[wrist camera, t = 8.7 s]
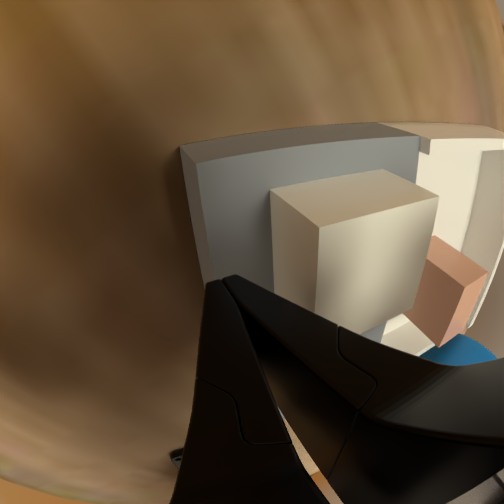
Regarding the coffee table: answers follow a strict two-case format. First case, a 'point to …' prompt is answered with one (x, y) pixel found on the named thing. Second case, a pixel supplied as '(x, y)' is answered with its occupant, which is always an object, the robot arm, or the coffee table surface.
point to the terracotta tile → (445, 292)
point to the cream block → (352, 245)
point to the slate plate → (273, 176)
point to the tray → (458, 205)
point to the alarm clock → (459, 352)
